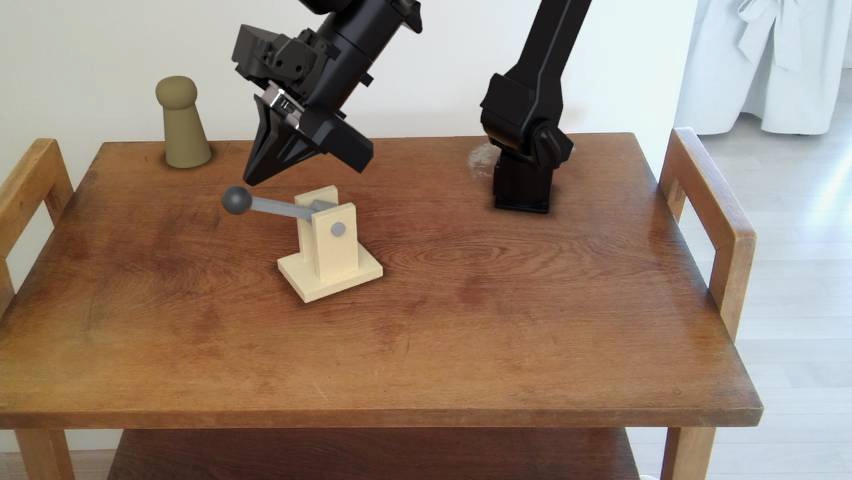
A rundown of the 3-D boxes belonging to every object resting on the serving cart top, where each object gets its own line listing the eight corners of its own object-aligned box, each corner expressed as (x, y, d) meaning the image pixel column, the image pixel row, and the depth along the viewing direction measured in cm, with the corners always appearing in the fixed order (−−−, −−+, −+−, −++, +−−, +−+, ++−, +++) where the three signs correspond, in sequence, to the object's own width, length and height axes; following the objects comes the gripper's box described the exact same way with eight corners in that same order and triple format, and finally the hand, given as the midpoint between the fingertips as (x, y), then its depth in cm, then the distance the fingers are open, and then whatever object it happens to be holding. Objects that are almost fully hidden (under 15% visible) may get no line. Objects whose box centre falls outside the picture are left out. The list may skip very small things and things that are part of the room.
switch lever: (223, 217, 70) (233, 190, 69) (213, 204, 72) (222, 177, 71) (338, 237, 78) (348, 212, 77) (326, 224, 80) (336, 200, 79)
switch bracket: (305, 303, 77) (297, 230, 72) (278, 268, 82) (269, 197, 77) (383, 276, 81) (381, 204, 76) (352, 244, 86) (348, 174, 81)
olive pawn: (216, 147, 106) (204, 70, 99) (204, 168, 101) (190, 89, 94) (174, 146, 106) (158, 69, 100) (159, 167, 101) (142, 88, 95)
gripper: (242, -37, 70) (146, 103, 72) (333, 19, 57) (212, 189, 59) (326, 33, 77) (236, 157, 80) (423, 97, 64) (313, 244, 66)
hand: (247, 183), depth 71 cm, fingers closed
